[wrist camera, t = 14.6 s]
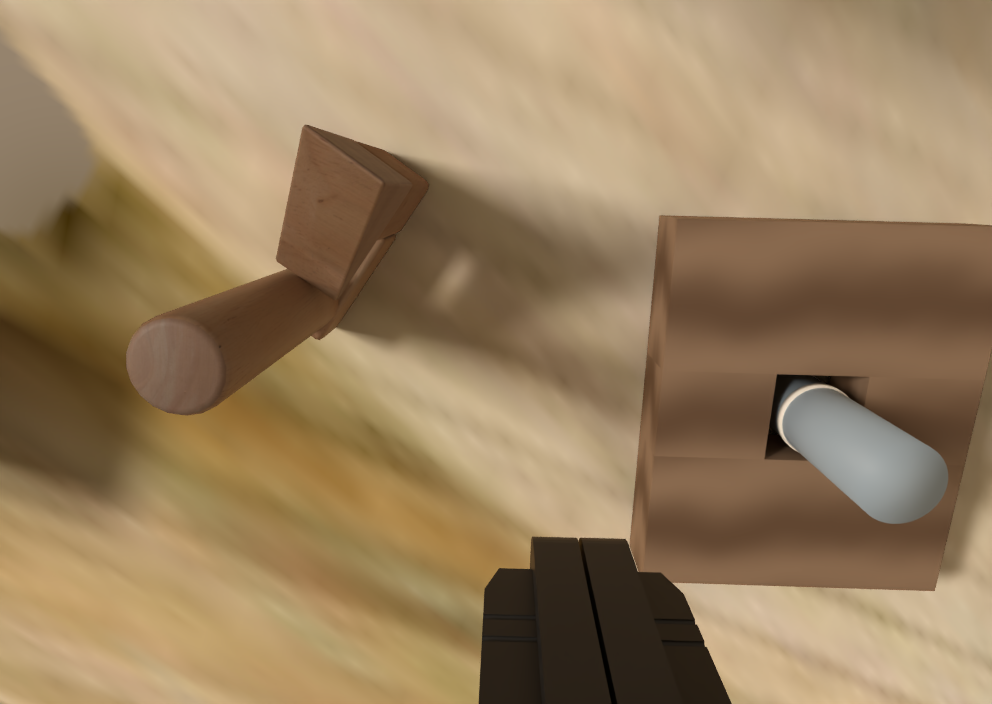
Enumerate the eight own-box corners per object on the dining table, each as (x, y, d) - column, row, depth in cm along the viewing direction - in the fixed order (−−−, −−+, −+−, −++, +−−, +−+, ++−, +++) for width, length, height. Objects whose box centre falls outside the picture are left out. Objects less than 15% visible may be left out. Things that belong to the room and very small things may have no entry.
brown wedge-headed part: (432, 184, 36) (364, 179, 19) (336, 329, 39) (196, 443, 21) (380, 146, 36) (259, 105, 18) (285, 295, 38) (99, 383, 21)
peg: (756, 364, 39) (863, 438, 27) (823, 366, 39) (959, 441, 27) (747, 427, 40) (847, 524, 28) (813, 429, 40) (939, 527, 28)
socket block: (659, 215, 36) (677, 218, 33) (966, 223, 36) (1020, 227, 32) (629, 545, 42) (641, 581, 38) (895, 554, 42) (934, 590, 38)
